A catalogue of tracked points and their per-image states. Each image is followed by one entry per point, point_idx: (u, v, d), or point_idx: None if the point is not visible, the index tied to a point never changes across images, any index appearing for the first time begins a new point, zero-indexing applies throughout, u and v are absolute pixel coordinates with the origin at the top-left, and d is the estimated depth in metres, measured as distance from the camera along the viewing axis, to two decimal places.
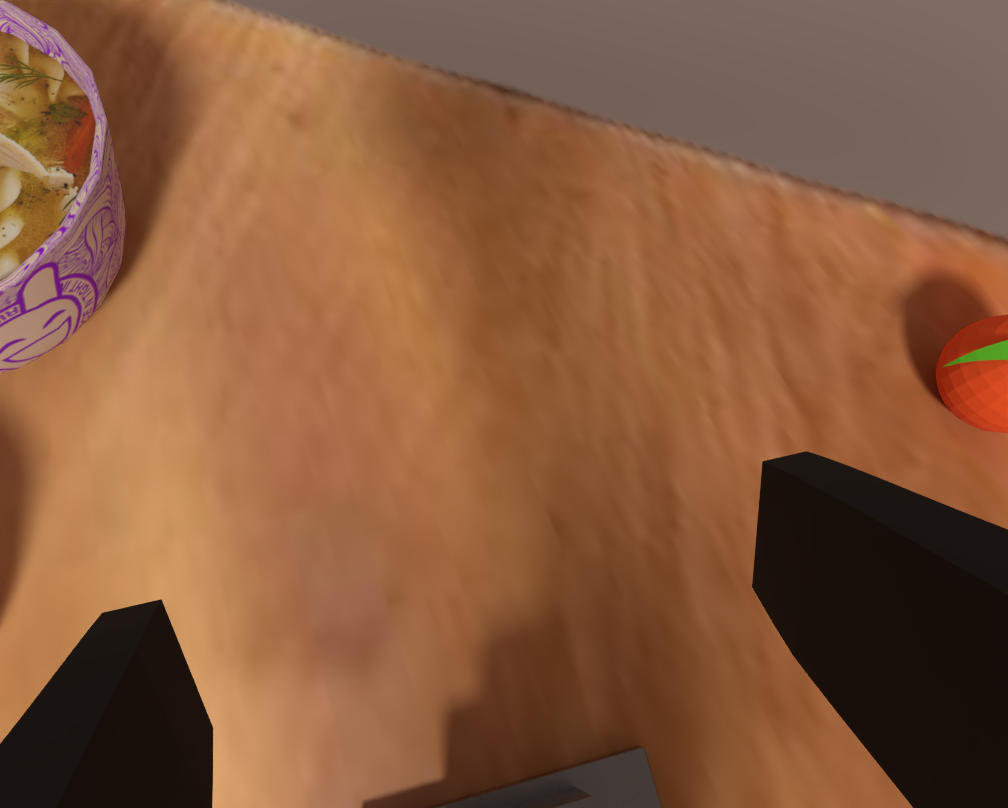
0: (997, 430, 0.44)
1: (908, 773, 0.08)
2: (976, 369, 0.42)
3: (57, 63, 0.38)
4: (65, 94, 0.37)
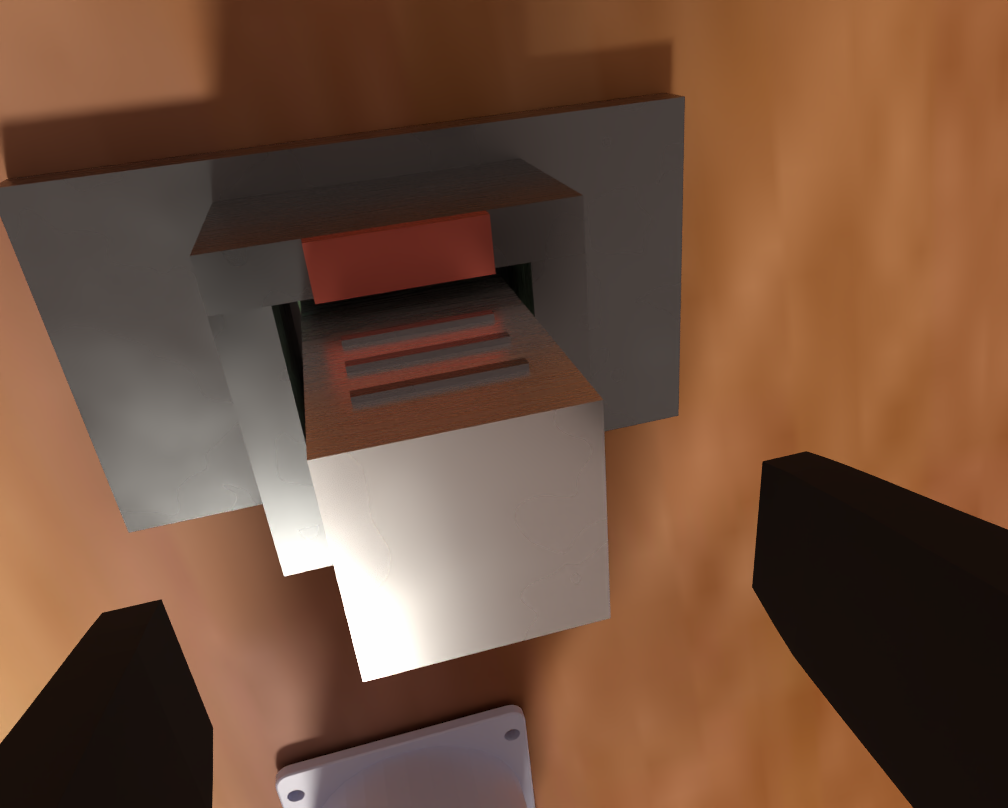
0: None
1: (908, 773, 0.08)
2: None
3: None
4: None
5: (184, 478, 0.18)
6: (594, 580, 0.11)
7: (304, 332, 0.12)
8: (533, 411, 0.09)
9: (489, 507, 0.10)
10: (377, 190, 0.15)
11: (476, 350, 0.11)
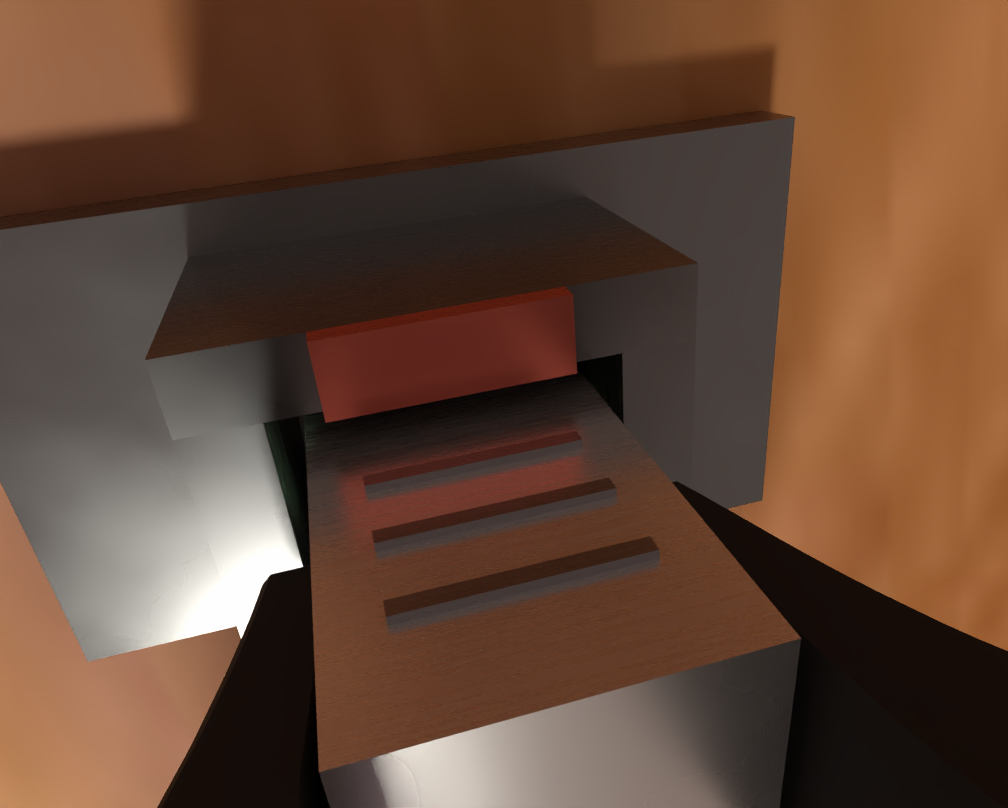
0: None
1: None
2: None
3: None
4: None
5: (157, 595, 0.14)
6: None
7: (311, 462, 0.09)
8: (690, 662, 0.06)
9: (608, 799, 0.06)
10: (405, 245, 0.11)
11: (567, 509, 0.07)
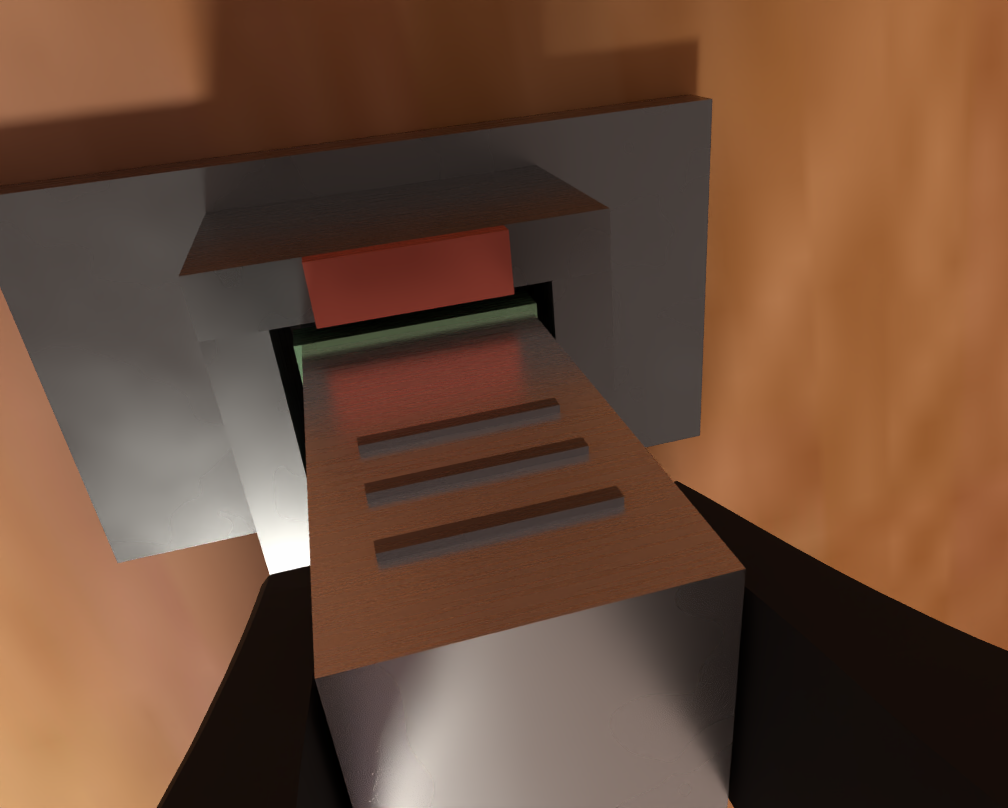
0: None
1: None
2: None
3: None
4: None
5: (176, 505, 0.16)
6: (711, 788, 0.08)
7: (309, 427, 0.09)
8: (646, 588, 0.06)
9: (575, 717, 0.07)
10: (383, 200, 0.14)
11: (543, 466, 0.08)
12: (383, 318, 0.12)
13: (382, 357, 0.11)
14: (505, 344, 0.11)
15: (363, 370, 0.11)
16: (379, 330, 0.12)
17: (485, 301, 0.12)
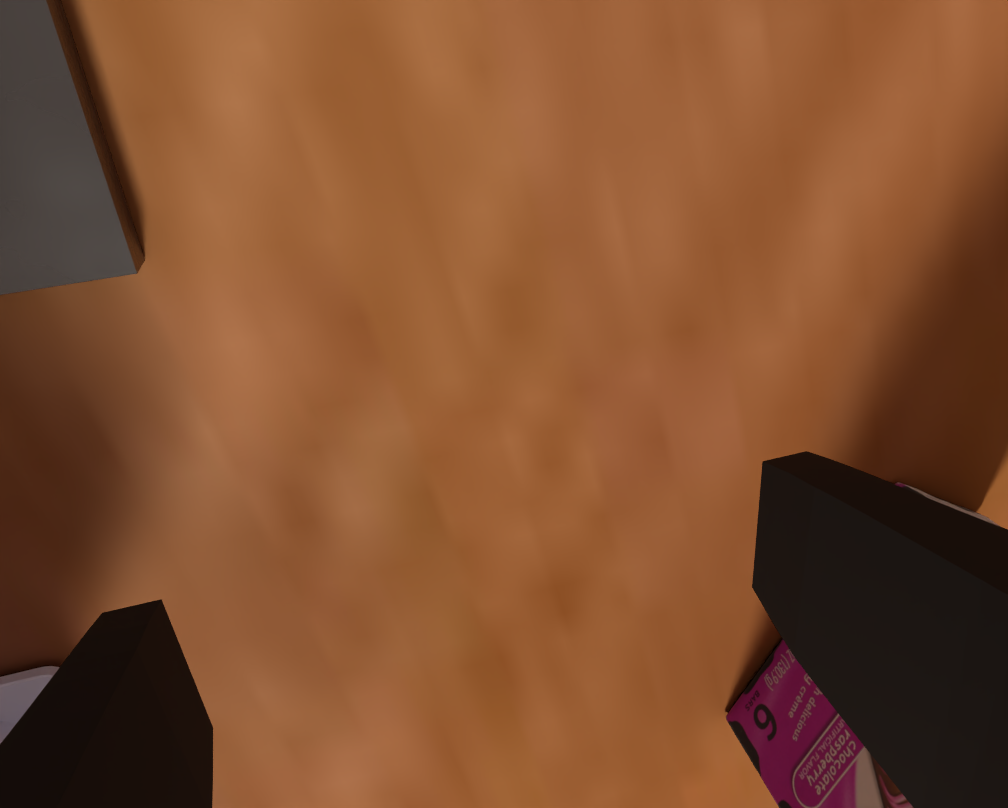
0: None
1: (908, 773, 0.08)
2: None
3: None
4: None
5: None
6: None
7: None
8: None
9: None
10: None
11: None
12: None
13: None
14: None
15: None
16: None
17: None
